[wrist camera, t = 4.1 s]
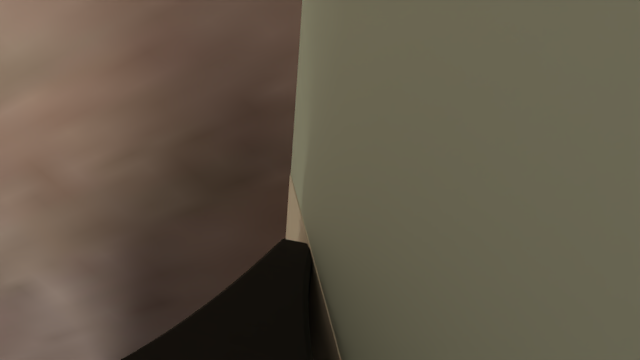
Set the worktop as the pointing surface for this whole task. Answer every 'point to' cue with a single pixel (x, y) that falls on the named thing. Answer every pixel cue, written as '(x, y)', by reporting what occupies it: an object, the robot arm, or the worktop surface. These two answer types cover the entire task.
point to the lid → (469, 178)
